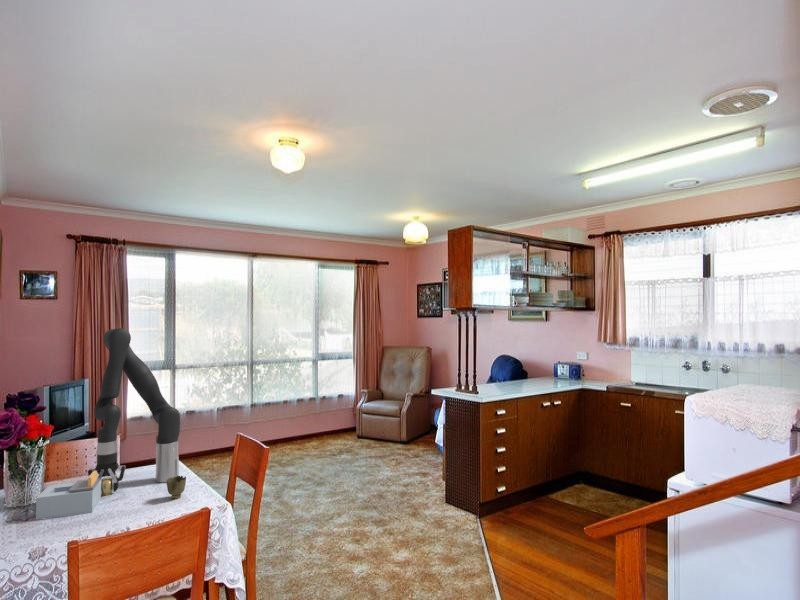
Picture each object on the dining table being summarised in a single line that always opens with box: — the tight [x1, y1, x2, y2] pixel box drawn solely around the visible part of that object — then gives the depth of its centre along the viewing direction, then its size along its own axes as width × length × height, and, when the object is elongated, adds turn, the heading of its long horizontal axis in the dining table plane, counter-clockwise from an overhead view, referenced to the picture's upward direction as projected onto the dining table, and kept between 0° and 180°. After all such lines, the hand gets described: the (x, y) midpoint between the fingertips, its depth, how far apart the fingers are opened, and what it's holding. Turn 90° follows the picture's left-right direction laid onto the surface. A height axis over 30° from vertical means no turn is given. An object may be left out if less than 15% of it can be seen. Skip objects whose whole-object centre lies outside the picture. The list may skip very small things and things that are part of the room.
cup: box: [166, 475, 187, 500], centre depth 198 cm, size 8×7×8 cm
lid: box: [69, 471, 100, 492], centre depth 190 cm, size 8×12×4 cm, turn 20°
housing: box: [35, 479, 102, 521], centre depth 188 cm, size 18×14×8 cm
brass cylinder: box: [101, 476, 114, 497], centre depth 204 cm, size 4×4×6 cm
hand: (106, 491), depth 204 cm, fingers open, 5 cm apart
